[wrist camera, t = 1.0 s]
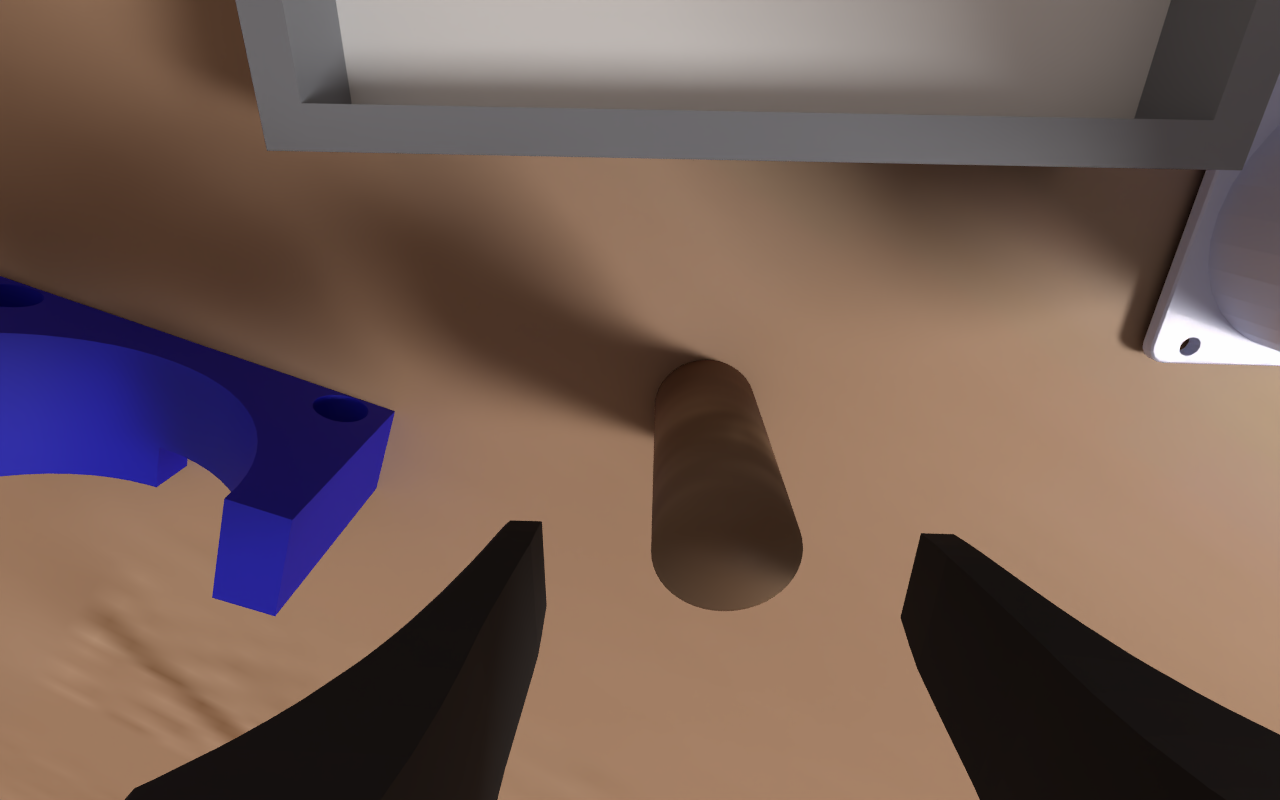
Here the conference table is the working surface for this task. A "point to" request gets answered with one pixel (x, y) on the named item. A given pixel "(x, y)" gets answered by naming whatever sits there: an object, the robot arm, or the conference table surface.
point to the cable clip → (188, 432)
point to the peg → (718, 493)
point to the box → (771, 79)
